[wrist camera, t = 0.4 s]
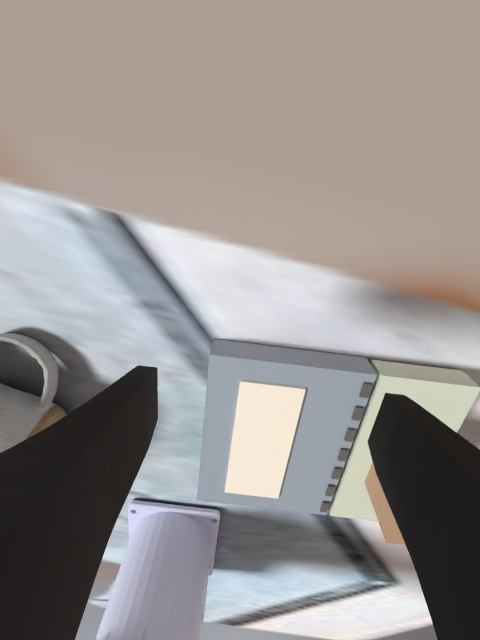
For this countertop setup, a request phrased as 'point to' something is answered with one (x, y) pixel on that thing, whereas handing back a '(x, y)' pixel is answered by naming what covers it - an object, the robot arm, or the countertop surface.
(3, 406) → the ceramic mug
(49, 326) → the countertop surface
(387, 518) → the stub
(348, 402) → the board
